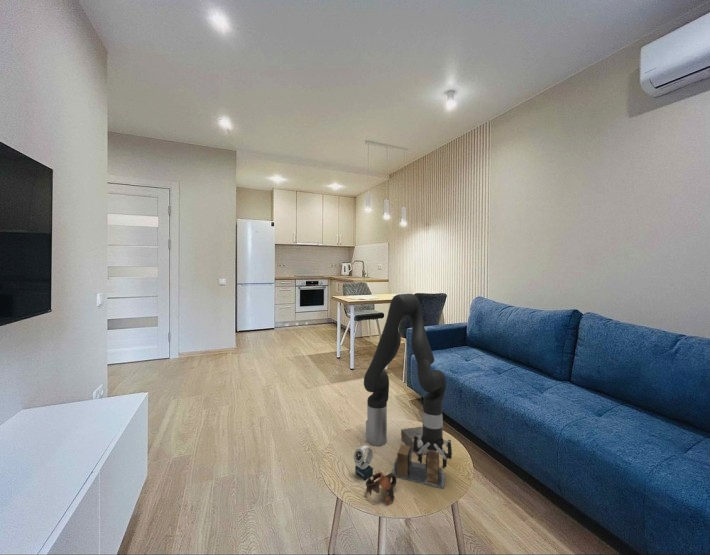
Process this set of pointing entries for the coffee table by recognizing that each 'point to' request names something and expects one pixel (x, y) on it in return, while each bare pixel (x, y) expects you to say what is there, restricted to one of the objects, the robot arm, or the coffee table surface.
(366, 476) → the watch
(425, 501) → the coffee table surface
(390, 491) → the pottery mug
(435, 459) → the brown wooden block
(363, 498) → the coffee table surface
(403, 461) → the grey and brown stand
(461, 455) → the coffee table surface
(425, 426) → the robot arm
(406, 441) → the geological specimen
